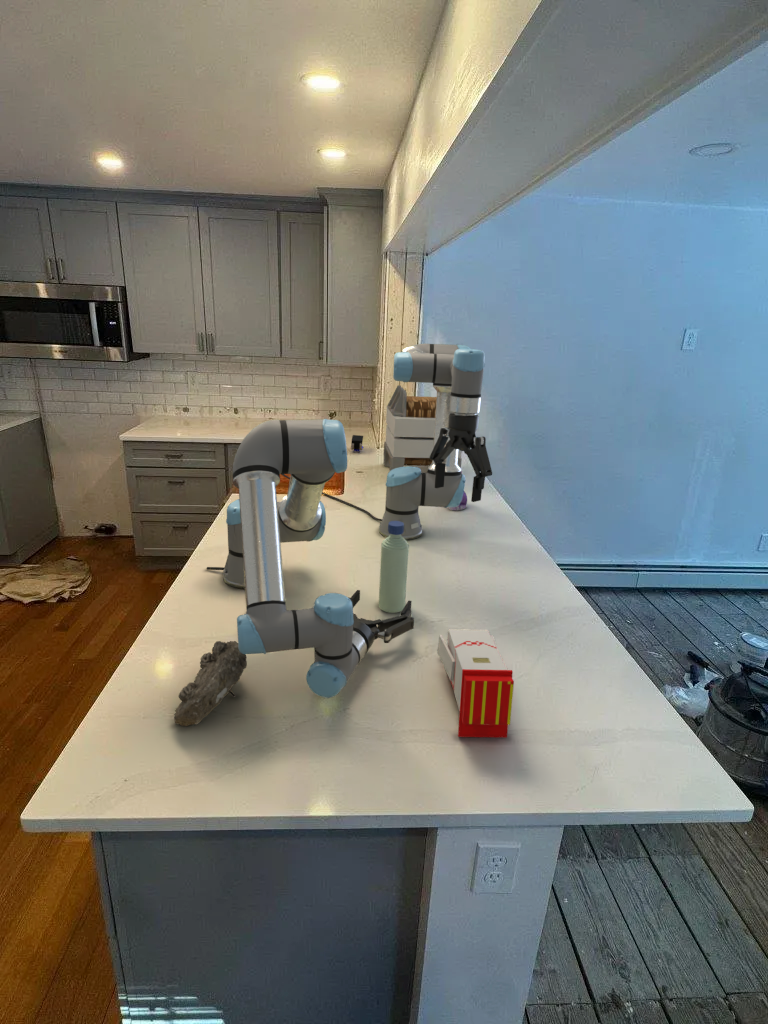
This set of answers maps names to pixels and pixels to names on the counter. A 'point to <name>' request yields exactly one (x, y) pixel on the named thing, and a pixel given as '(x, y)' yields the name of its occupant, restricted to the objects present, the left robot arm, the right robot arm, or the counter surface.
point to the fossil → (211, 683)
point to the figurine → (462, 503)
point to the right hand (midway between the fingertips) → (456, 494)
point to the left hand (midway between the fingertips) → (383, 600)
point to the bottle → (393, 573)
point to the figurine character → (356, 443)
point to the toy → (478, 682)
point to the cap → (396, 527)
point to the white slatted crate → (410, 430)
